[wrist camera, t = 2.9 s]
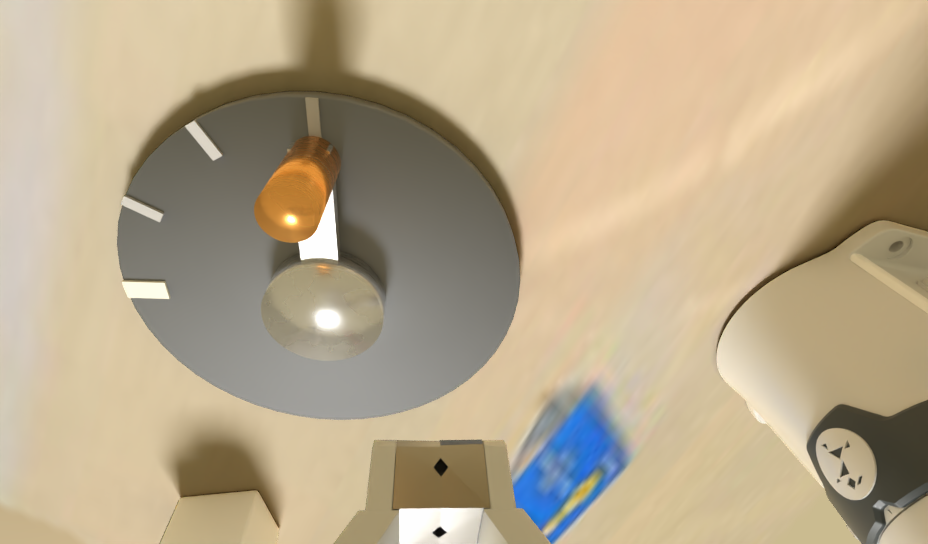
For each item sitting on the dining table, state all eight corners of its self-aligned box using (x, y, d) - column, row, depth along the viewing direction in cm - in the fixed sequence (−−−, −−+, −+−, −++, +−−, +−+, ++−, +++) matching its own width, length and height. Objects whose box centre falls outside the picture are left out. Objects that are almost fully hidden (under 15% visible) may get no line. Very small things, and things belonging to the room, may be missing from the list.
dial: (386, 340, 32) (378, 416, 27) (278, 338, 32) (248, 415, 27) (384, 138, 25) (372, 190, 20) (241, 129, 24) (190, 181, 19)
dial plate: (547, 107, 26) (552, 114, 25) (494, 408, 39) (496, 422, 38) (63, 74, 24) (45, 80, 22) (182, 406, 37) (174, 420, 36)
